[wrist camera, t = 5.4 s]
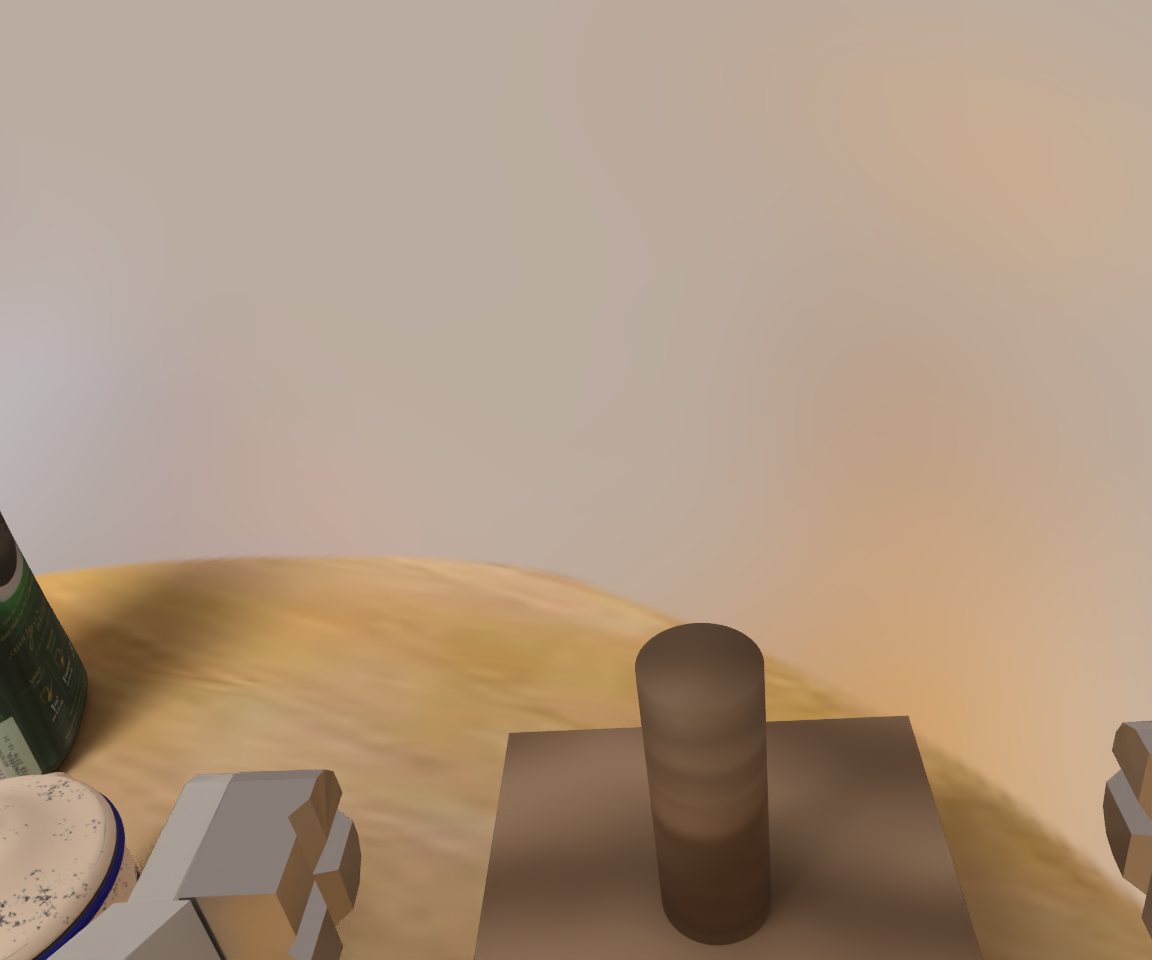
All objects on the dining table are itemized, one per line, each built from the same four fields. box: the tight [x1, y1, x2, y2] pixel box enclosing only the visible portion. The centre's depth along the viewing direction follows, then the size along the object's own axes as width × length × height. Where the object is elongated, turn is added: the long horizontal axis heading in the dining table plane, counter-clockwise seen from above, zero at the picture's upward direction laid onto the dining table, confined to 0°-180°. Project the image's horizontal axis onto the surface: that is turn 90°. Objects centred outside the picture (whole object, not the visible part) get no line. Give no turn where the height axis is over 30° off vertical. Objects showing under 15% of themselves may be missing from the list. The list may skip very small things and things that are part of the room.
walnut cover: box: [474, 623, 983, 960], centre depth 30 cm, size 14×14×17 cm
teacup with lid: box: [0, 772, 141, 960], centre depth 36 cm, size 12×9×12 cm
